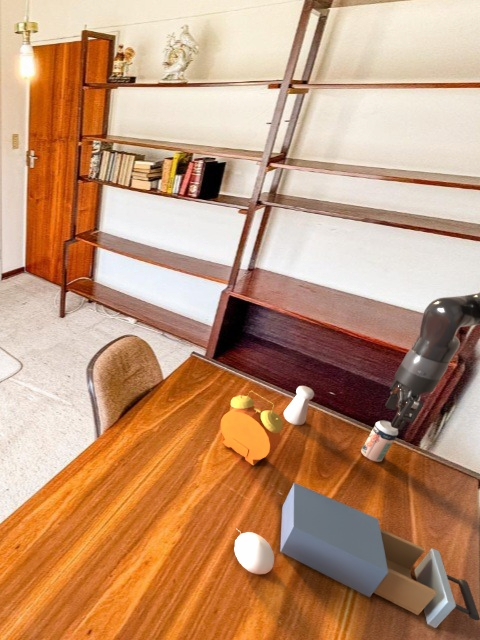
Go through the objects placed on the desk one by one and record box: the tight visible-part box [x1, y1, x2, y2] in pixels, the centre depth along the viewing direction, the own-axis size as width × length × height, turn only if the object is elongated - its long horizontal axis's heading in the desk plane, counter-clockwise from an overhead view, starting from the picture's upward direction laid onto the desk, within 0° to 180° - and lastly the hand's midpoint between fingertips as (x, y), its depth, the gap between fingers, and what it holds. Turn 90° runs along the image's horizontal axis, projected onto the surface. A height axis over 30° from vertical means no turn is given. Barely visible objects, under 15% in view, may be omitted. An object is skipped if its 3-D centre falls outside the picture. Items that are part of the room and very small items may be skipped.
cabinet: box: [279, 482, 388, 598], centre depth 86 cm, size 16×13×10 cm
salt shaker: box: [283, 385, 315, 426], centre depth 120 cm, size 6×6×13 cm
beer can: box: [360, 420, 399, 463], centre depth 109 cm, size 5×5×12 cm
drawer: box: [373, 528, 480, 629], centre depth 79 cm, size 19×11×8 cm, turn 57°
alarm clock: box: [220, 390, 284, 466], centre depth 107 cm, size 13×6×20 cm, turn 34°
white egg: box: [233, 529, 275, 575], centre depth 84 cm, size 10×7×7 cm
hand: (392, 417), depth 105 cm, fingers open, 8 cm apart
